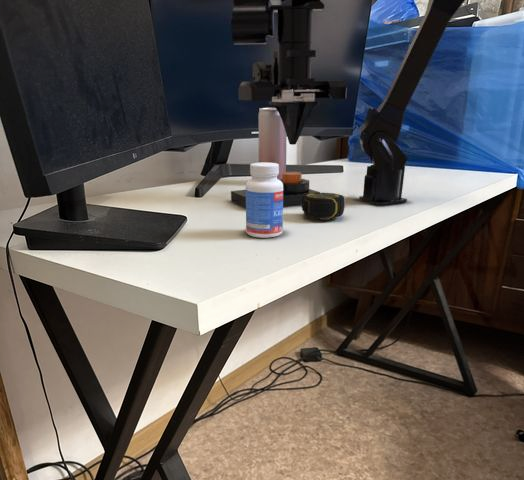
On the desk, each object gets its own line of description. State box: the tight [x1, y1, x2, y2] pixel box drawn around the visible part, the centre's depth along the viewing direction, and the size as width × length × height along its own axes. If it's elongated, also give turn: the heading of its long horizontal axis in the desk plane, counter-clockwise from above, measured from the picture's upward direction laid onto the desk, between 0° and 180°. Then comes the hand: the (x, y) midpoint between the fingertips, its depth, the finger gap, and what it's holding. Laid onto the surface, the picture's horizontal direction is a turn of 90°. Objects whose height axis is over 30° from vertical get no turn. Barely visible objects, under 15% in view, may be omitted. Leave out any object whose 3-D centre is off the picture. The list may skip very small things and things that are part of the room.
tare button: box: [282, 171, 303, 183], centre depth 95 cm, size 4×4×2 cm
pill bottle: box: [245, 162, 284, 239], centre depth 73 cm, size 6×5×10 cm
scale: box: [230, 178, 321, 209], centre depth 94 cm, size 14×9×4 cm, turn 117°
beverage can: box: [257, 107, 288, 179], centre depth 110 cm, size 6×6×15 cm
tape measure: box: [300, 192, 346, 221], centre depth 83 cm, size 7×7×4 cm
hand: (292, 144), depth 92 cm, fingers closed
